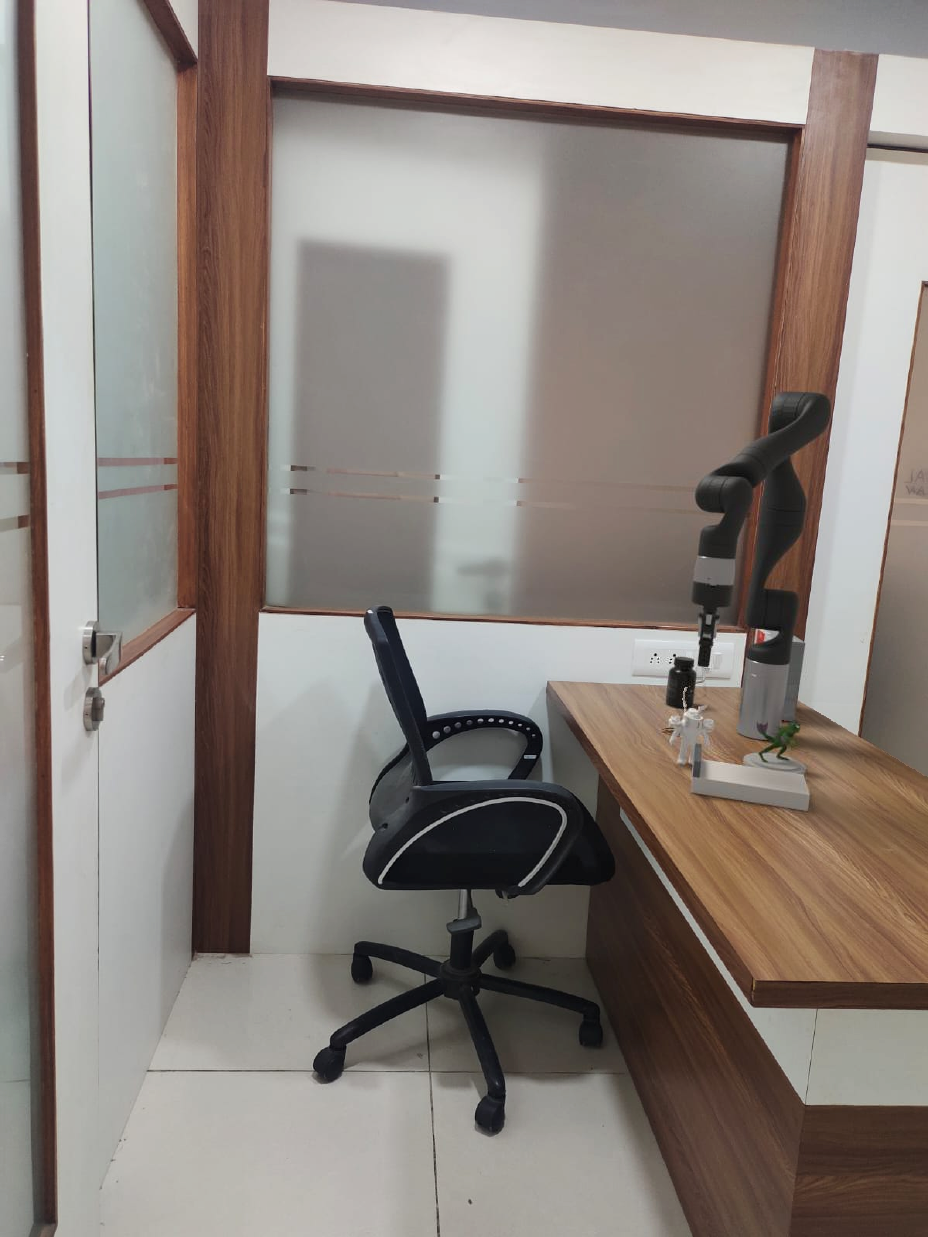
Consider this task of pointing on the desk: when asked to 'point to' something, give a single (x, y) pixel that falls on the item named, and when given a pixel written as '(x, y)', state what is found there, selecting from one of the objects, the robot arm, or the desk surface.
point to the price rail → (697, 760)
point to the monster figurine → (778, 760)
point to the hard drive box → (793, 671)
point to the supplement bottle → (681, 682)
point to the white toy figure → (690, 732)
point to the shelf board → (751, 785)
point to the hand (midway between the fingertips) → (703, 662)
